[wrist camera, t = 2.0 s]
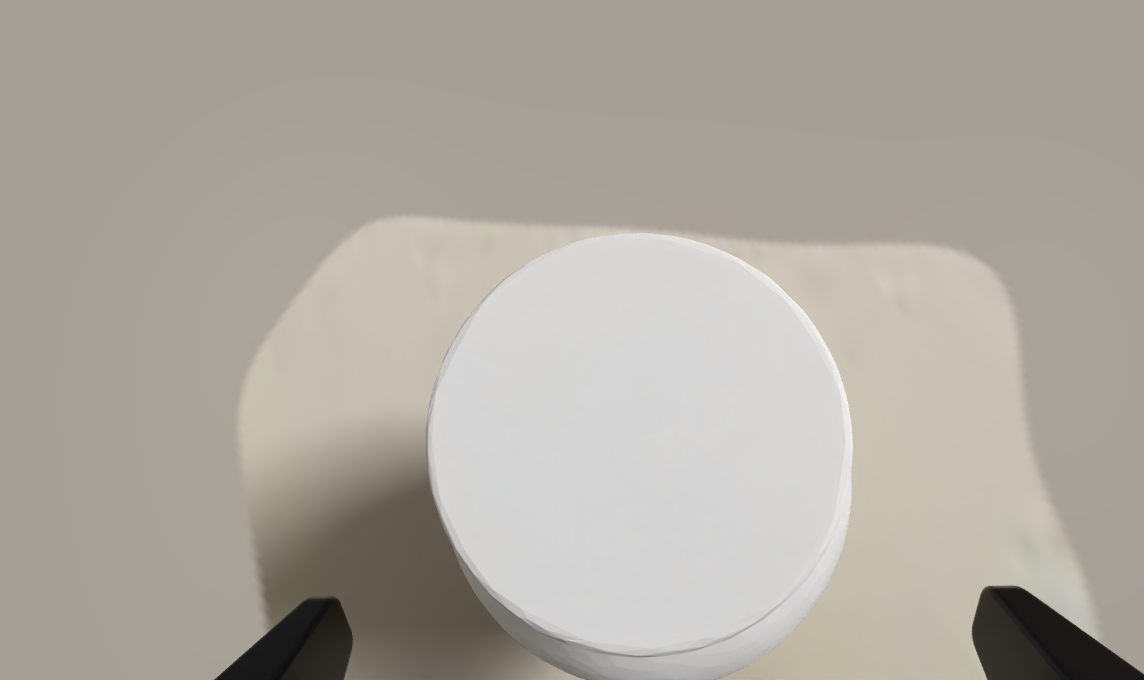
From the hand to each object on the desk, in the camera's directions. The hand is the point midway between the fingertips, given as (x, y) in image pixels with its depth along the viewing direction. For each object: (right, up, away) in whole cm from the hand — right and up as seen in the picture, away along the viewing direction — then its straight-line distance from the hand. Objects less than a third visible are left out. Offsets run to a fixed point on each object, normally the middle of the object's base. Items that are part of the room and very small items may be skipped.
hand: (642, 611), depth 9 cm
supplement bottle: (+1, -1, +10) cm, 10 cm away
